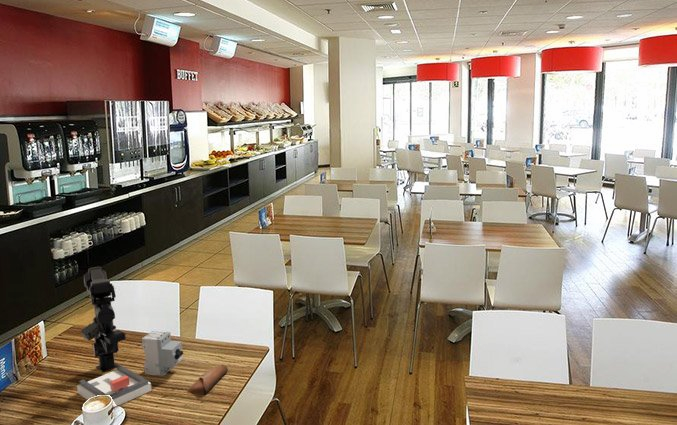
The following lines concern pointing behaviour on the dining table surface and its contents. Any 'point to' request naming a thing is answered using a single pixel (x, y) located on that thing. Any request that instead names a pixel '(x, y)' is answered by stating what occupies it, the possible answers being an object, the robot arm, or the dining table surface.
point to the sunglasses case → (208, 380)
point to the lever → (119, 383)
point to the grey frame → (122, 392)
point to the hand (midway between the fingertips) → (108, 353)
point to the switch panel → (104, 386)
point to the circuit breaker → (160, 352)
